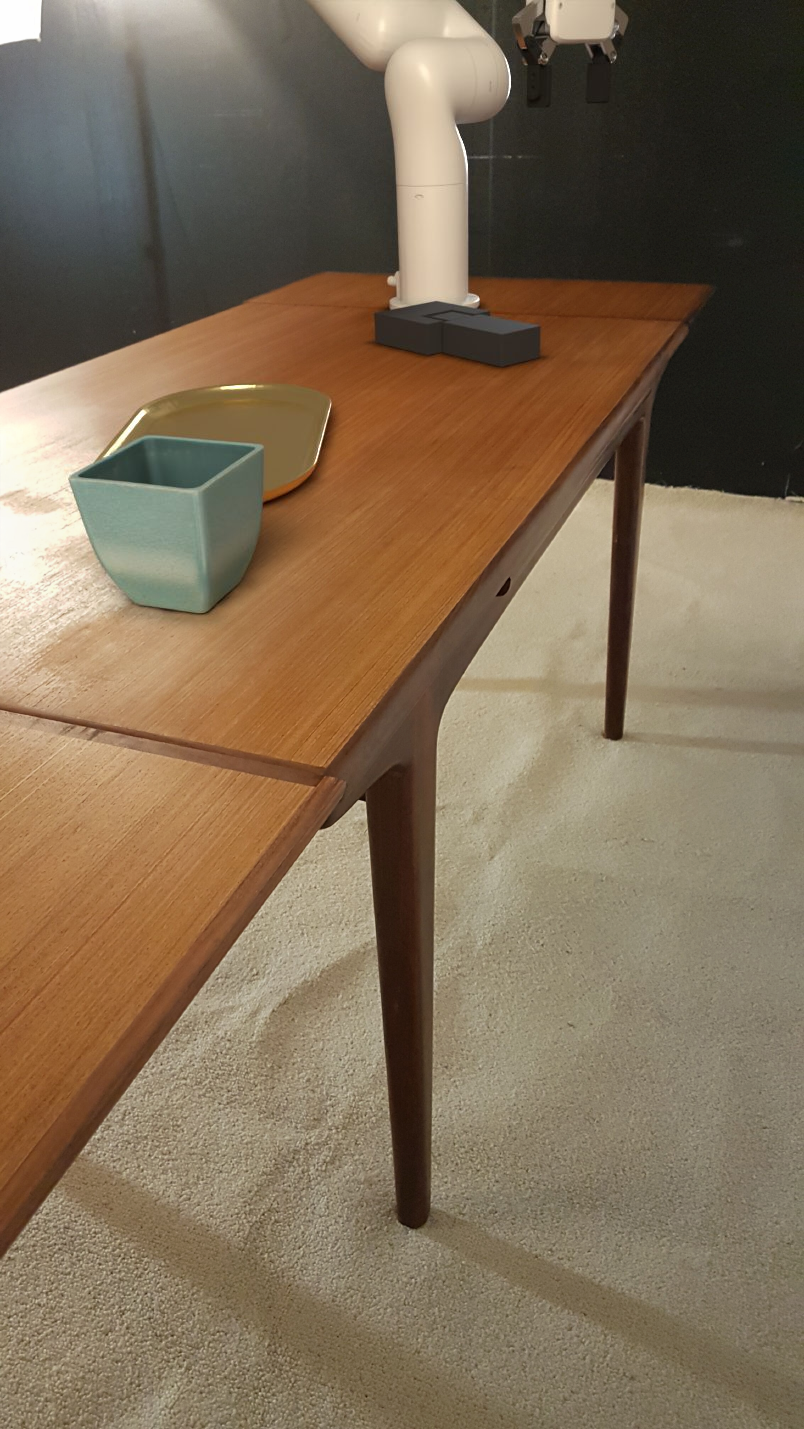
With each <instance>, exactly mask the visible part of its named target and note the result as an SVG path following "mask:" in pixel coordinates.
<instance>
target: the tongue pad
mask: <svg viewBox="0 0 804 1429" xmlns="http://www.w3.org/2000/svg"><path fill="white" fill-rule="evenodd" d="M430 318H432V319H436V320H441V321H443V323H442V325H443V352H442V354H445V355H449V356H452V357H457V358H461V359H466V360H470V361H474V362H479V363H482V364H487V365H490V366H491V365H492V366H495V367H500V368H505V367H509V366H513V365H516V364H520V363H523V362H528V361H532V360H536V359H539V358H540V357H541V356H540V355H541V330H542V326H541V325H538V324H534V323H528V322H523V321H518V320H513V319H507V318H502V317H497V316H491V315H490V316H487V315H482V314H479V315H474V316H471V315H466V314H461V313H456V312H449V313H444V314H440V315H435V316H430Z"/></svg>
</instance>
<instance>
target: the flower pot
mask: <svg viewBox="0 0 804 1429" xmlns="http://www.w3.org/2000/svg"><path fill="white" fill-rule="evenodd" d="M263 475H264V446H263V445H261V444H253V443H239V442H227V441H216V440H205V439H194V438H182V437H170V436H158V435H146V436H143V437H140V438H138V439H136V440H134V441H132V442H130V443H128V444H127V445H126V446H123V447H122V448H120V449H118V450H116V451H115V452H113V453H111V454H109V455H107V456H106V457H104V458H102V459H100V460H98V461H96V462H94V461H93V463H90V464H88V465H87V466H85V467H83V468H81V469H79V470H77V471H76V472H74V473H72V474H71V475H70V476H68V478H67V479H68V483H69V486H70V488H71V493H72V494H73V497H74V500H75V503H76V506H77V509H78V512H79V515H80V518H81V520H82V523H83V527H84V529H85V532H86V535H87V537H88V540H89V543H90V545H91V548H92V550H93V552H94V554H95V557H96V558H97V560H98V562H99V563H100V565H101V567H102V568H103V570H104V571H105V573H106V574H107V575H108V577H109V578H110V579H111V580H112V582H113V583H114V584H115V585H116V586H117V587H118V589H120V590H121V591H122V592H123V593H124V594H125V595H126V596H127V597H128V598H129V599H130V600H131V601H132V602H133V603H134V604H136V605H140V606H145V607H153V608H161V609H167V610H174V611H181V612H186V613H187V612H188V613H193V614H194V613H195V614H205V613H207V612H208V611H210V610H211V609H212V608H214V606H215V605H216V604H218V602H220V601H221V600H222V599H223V598H225V596H226V595H227V594H229V593H230V592H231V591H232V590H233V589H234V588H235V587H236V586H238V585H239V583H240V582H241V581H242V578H244V577H243V576H244V575H245V573H246V571H247V569H248V567H249V564H250V562H251V560H252V558H253V556H254V553H255V550H256V547H257V543H258V540H259V536H260V532H261V527H262V521H263V509H264V508H263V504H264V503H263Z"/></svg>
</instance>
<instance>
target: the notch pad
mask: <svg viewBox="0 0 804 1429" xmlns="http://www.w3.org/2000/svg"><path fill="white" fill-rule="evenodd" d="M449 312H456V313H461V314H466V315H471V316H474V315H479V314H482V315H487V316H491V310H487V309H483V308H482V309H481V308H478V307H477V308H472V307H466V306H461V305H456V304H450V303H445V302H440V301H433V302H428V303H423V304H418V305H413V306H407V307H402V308H397V309H392V310H390V309H387V310H382V311H378V312H374V313H373V317H374V318H373V320H374V337H375V343H376V344H379V345H383V346H387V347H392V348H396V349H399V350H403V351H408V352H411V353H412V352H413V353H415V354H416V353H417V354H421V355H423V356H424V355H425V356H432V355H435V354H439V353H443V325H442V323H443V321H441V320H436V319H432V318H430V316H435V315H440V314H444V313H449Z"/></svg>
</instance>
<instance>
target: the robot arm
mask: <svg viewBox="0 0 804 1429" xmlns="http://www.w3.org/2000/svg"><path fill="white" fill-rule="evenodd" d="M304 2H306V3H307V4H308V5H309V6H310V7H311V8H312V10H314V12H316V14H318V16H319V17H320V18H321V20H323V21H324V23H325V24H326V25H327V26H328V27H329V29H330V30H331V31H332V32H333V33H334V34H335V35H336V36H337V37H338V38H339V40H340V41H341V42H342V43H343V44H344V45H345V46H346V47H347V48H348V50H349V51H351V52H352V54H353V55H354V56H355V57H356V58H357V59H358V60H359V61H360V62H361V63H362V64H363V65H364V66H365V67H367V68H368V69H370V70H372V71H376V72H383V73H384V82H383V83H384V96H385V102H386V106H387V111H388V116H389V121H390V122H389V123H390V127H391V133H392V134H391V135H392V141H393V151H394V152H393V154H394V167H395V170H394V171H395V188H396V190H395V191H396V214H397V215H396V220H397V222H396V223H397V246H398V250H397V251H398V270H397V271H395V273H394V275H390V276H388V277H387V280H386V283H387V285H388V286H389V287H395V288H396V289H395V290H396V296H394V297H391V298H390V299H389V304H388V305H389V306H388V307H389V310H392V309H397V308H402V307H407V306H413V305H418V304H423V303H428V302H433V301H440V302H445V303H450V304H456V305H461V306H466V307H472V308H477V309H478V308H479V306H480V297H479V296H478V295H477V294H474V293H471V292H469V168H468V167H469V166H468V158H467V152H466V149H465V145H464V143H463V140H462V138H461V135H460V132H459V129H458V127H457V126H458V125H466V124H475V123H479V122H484V121H485V122H486V121H487V120H490V119H491V118H493V117H495V116H496V115H497V114H499V113H500V112H501V110H502V109H503V108H504V106H505V105H506V103H507V101H508V99H509V95H510V90H511V72H510V67H509V63H508V60H507V58H506V56H505V54H504V52H503V50H502V48H501V47H500V46H499V44H498V43H497V42H496V40H495V39H494V38H493V37H492V36H491V35H490V34H489V33H488V32H487V31H486V29H484V28H483V26H481V25H480V24H479V23H478V21H476V19H474V17H473V16H472V15H471V14H470V13H469V12H468V11H467V10H466V9H465V8H464V7H463V6H462V5H461V4H460V3H459V2H458V1H457V0H304ZM628 23H629V16H628V14H626V13H625V12H624V10H622V8H620V7H619V6H618V5H617V3H616V0H525V6H524V7H523V8H522V9H520V11H518V12H517V13H516V14H515V15H514V16H513V17H512V19H511V26H512V28H513V31H514V32H513V33H514V35H515V38H516V47H517V49H518V50H519V52H520V54H521V55H522V63H523V65H524V66H526V67H527V70H526V71H527V73H526V75H527V76H526V107H527V108H529V109H530V108H531V109H532V108H533V109H535V108H541V109H542V108H543V109H544V108H546V109H547V108H549V107H550V106H551V105H552V83H553V82H552V80H553V66H552V65H553V64H548V62H549V60H550V58H551V56H552V55H553V52H554V51H555V48H556V47H557V46H560V45H562V46H563V45H579V44H584V45H585V48H586V51H587V53H588V56H589V57H590V60H591V61H592V62H588V63H587V66H586V83H585V86H586V87H585V103H587V104H608V103H609V102H610V99H611V84H612V70H613V67H612V66H613V63H614V62H616V59H617V53H618V51H619V49H620V48H621V46H622V44H623V39H624V38H623V37H624V35H625V32H626V29H627V26H628Z"/></svg>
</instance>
